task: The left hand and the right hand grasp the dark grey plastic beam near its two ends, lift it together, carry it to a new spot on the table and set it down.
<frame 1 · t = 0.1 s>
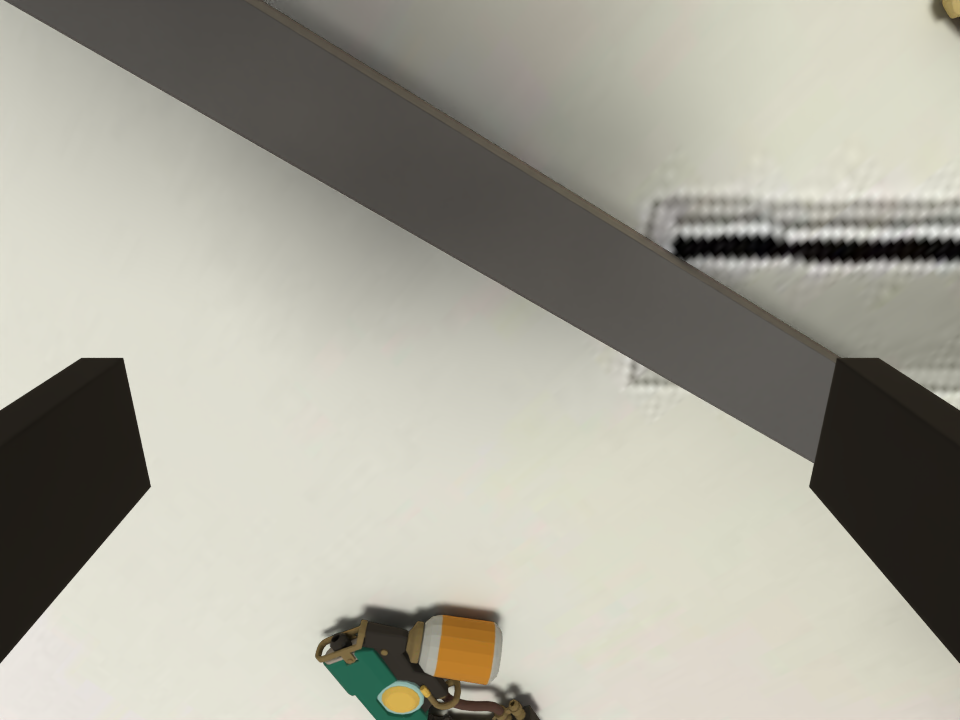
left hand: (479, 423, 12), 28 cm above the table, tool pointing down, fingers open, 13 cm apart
spray gun: (436, 677, 52), on the table
beam: (583, 249, 39), on the table
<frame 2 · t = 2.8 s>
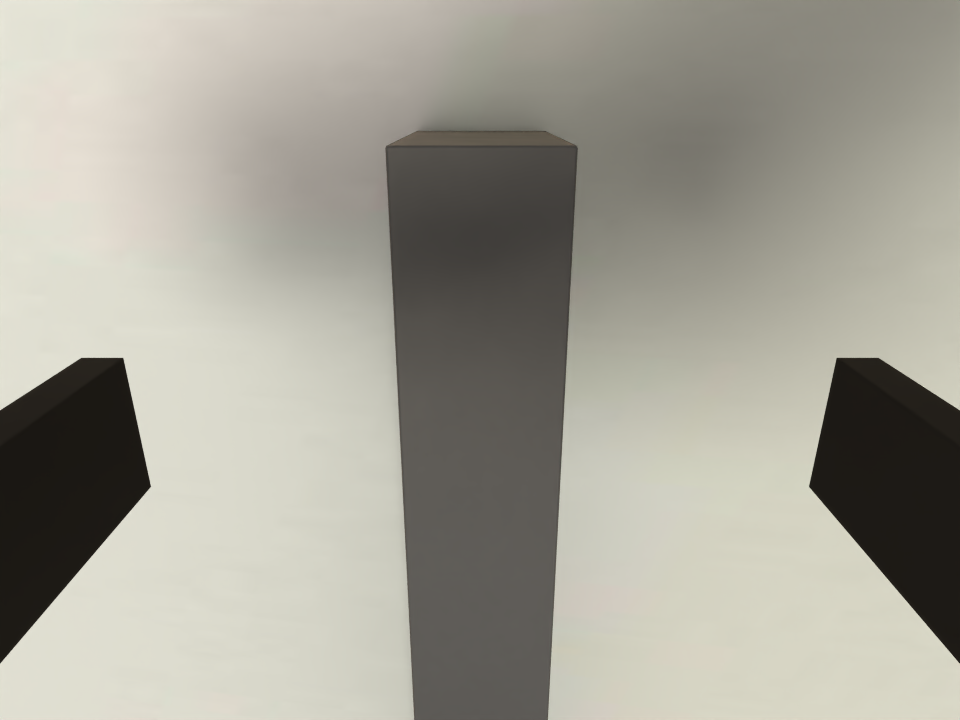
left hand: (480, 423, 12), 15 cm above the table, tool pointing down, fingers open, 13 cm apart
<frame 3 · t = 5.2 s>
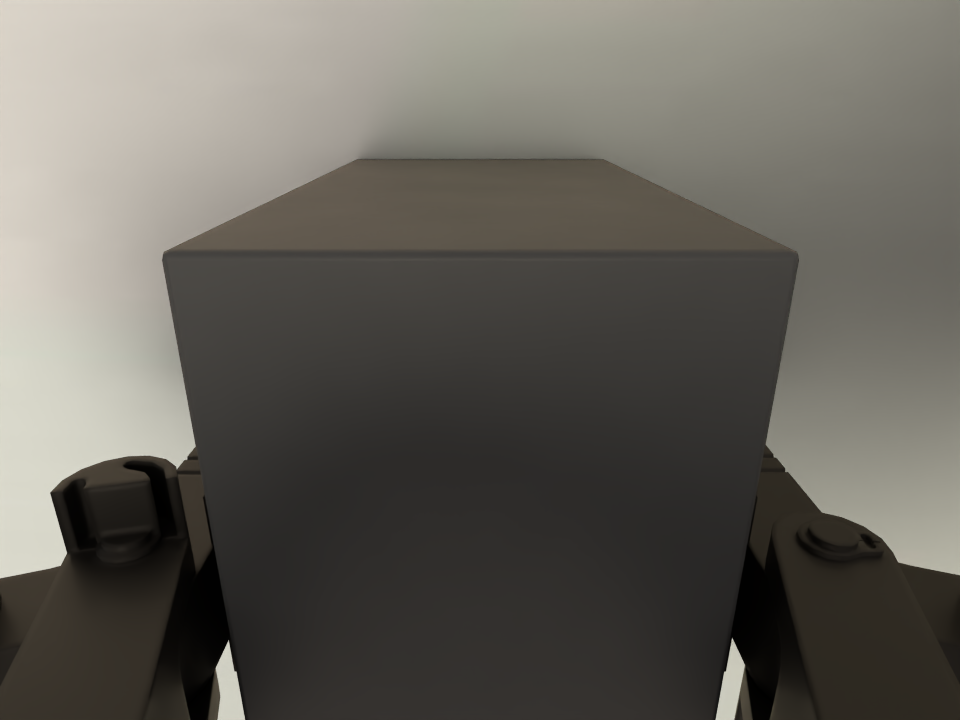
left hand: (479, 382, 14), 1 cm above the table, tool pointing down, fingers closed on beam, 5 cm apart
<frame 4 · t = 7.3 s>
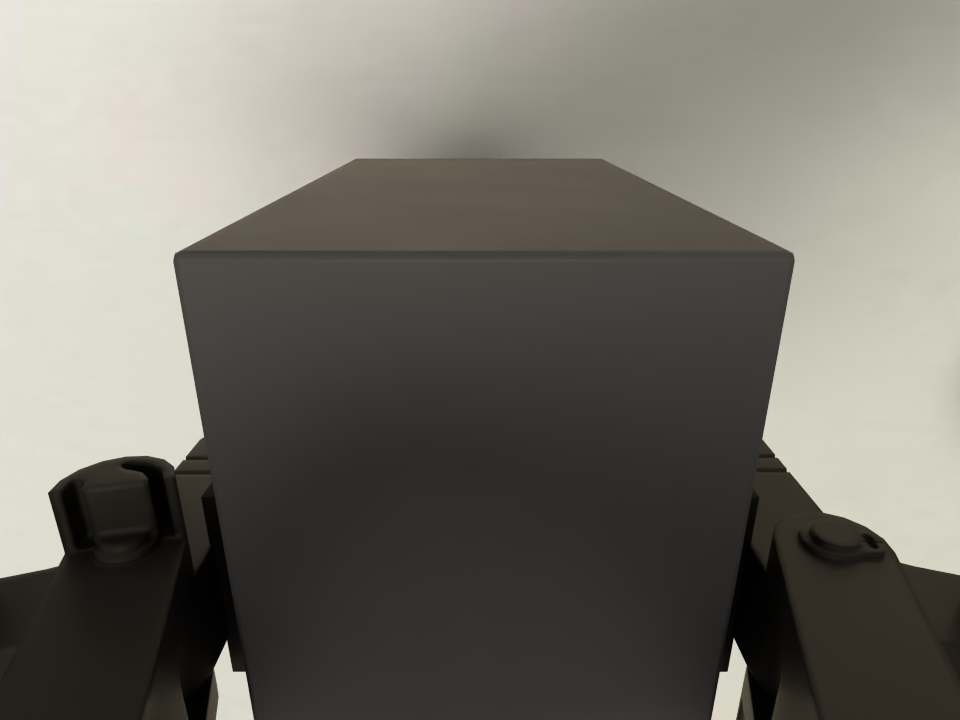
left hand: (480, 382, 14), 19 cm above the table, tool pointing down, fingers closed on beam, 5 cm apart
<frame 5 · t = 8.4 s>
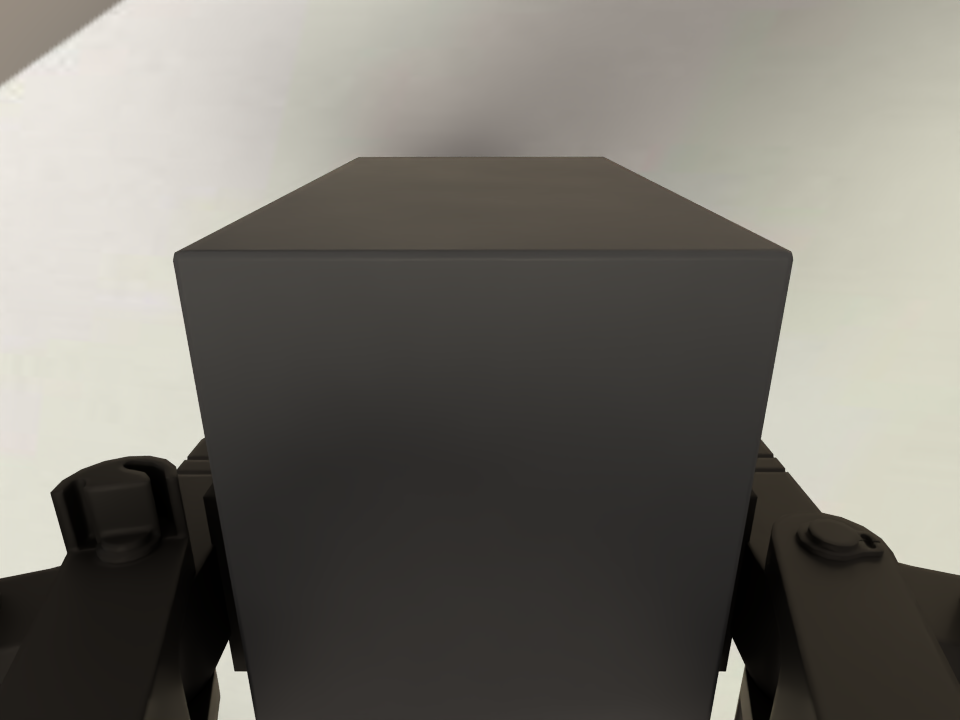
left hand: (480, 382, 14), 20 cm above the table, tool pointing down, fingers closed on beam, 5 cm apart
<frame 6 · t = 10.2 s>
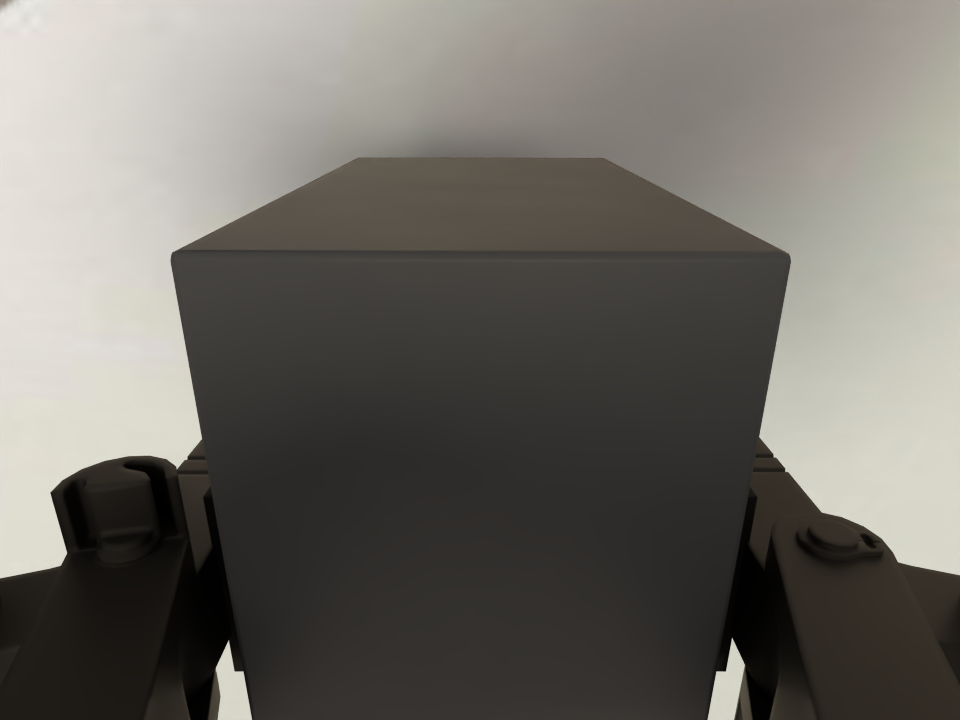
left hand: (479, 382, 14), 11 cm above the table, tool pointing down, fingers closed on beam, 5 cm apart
when the left hand's fingers open (2 cm above the table, at t = 11.6 s): beam drops 1 cm, on the table.
when the right hand's fingers open (5 cm above the table, at t = 11.8 s): beam stays where it is, on the table.
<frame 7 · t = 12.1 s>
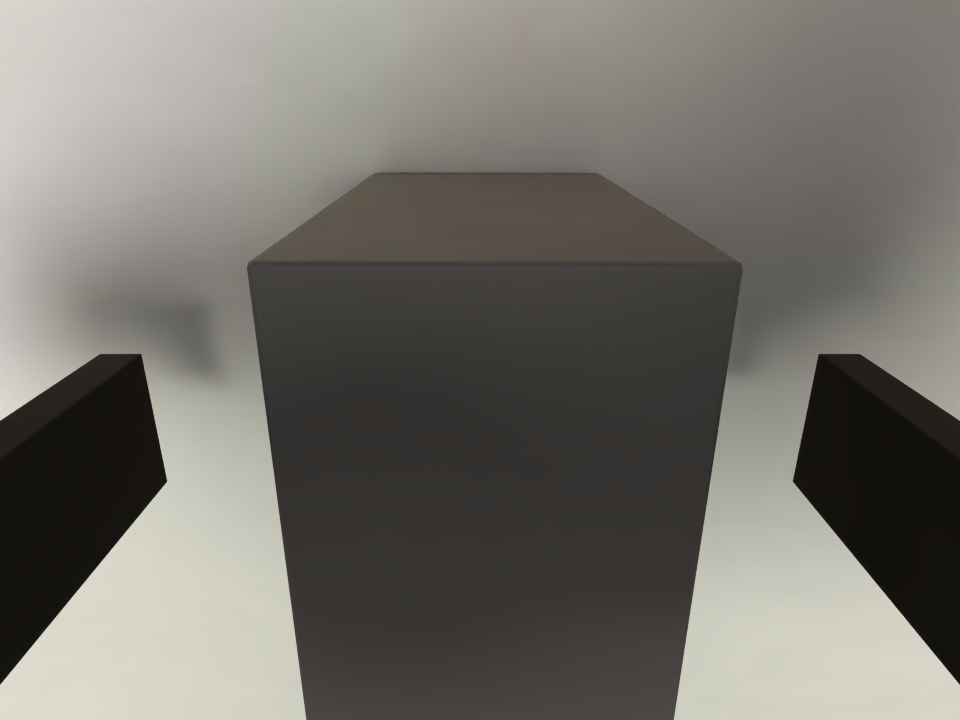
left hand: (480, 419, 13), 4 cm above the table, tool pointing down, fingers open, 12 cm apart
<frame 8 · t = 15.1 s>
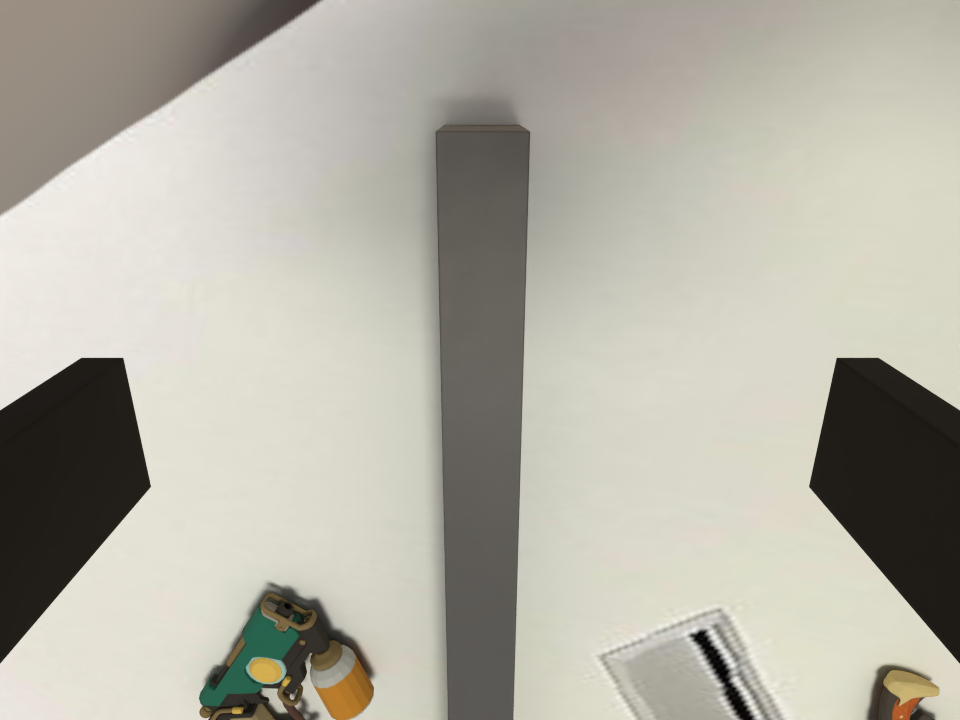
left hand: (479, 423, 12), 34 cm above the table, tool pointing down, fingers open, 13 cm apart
spray gun: (285, 668, 60), on the table
beam: (480, 607, 57), on the table
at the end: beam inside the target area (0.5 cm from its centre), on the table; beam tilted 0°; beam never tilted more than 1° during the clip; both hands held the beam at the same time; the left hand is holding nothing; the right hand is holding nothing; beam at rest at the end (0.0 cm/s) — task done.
